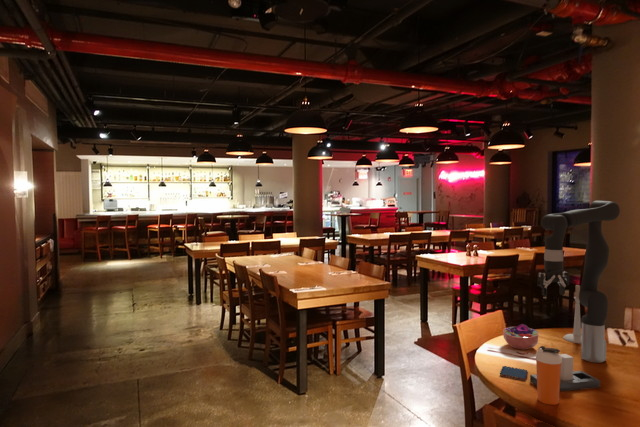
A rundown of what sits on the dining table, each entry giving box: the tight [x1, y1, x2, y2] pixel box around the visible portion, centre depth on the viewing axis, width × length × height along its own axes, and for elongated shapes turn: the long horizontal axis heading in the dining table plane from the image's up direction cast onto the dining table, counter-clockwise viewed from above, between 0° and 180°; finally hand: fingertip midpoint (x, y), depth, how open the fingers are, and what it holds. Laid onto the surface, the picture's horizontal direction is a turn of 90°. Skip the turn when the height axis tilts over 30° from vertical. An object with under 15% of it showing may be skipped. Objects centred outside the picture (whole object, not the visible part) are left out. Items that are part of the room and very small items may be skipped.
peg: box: [559, 353, 574, 381], centre depth 177 cm, size 4×4×12 cm
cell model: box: [502, 323, 539, 350], centre depth 221 cm, size 17×20×11 cm
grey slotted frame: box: [529, 370, 601, 392], centre depth 177 cm, size 24×10×3 cm, turn 100°
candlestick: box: [563, 284, 582, 345], centre depth 232 cm, size 13×13×30 cm
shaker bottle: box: [535, 345, 562, 406], centre depth 163 cm, size 9×9×20 cm
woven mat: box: [499, 366, 529, 382], centre depth 188 cm, size 10×11×2 cm
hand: (553, 295), depth 193 cm, fingers open, 8 cm apart
